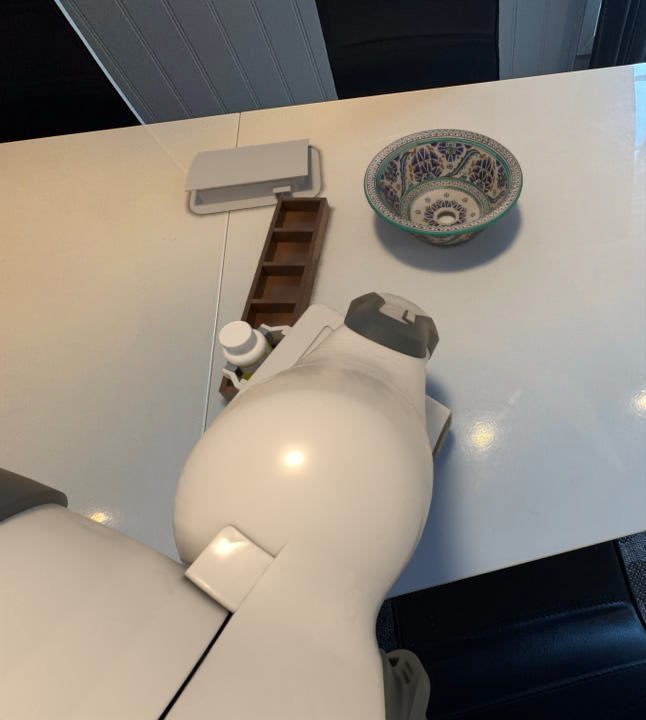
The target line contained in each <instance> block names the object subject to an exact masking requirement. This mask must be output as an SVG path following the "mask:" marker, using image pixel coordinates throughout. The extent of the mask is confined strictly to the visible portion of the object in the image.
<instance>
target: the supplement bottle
mask: <svg viewBox="0 0 646 720" xmlns="http://www.w3.org/2000/svg"><path fill="white" fill-rule="evenodd" d="M218 341H219V343H220V344H221V346H222V354H223V356H224V358H225V360H226V361H227V362H229V363H231V364H232V365H235V366H237V367H239V369H240V371H242V372H243V375H242V376H241V377H242V378H243V379H245V380H247V381H248V380H249V379H250V378H251V377H252V375H253V374H254V373H255V372H256V371H257V369H258V368H259V367H260V366H261V364H262V363H263V362H264V361H265V360H266V358H267V357H268V356H269V355H270V354H271V352H272V351H273V348H272V347H271V345H270V344H269V342H268V341H267V339H266V338H265V337H264V335H263V334H262V333H261V332H259V331H258V330H255V329H252V328H251V326H250V325H249V324H248V323H246V322H244V321H240V320H235V321H230V322H229V323H227V324H226V325H224V326H223V327H222V328H221V330H220V331H219V333H218Z"/></svg>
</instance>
